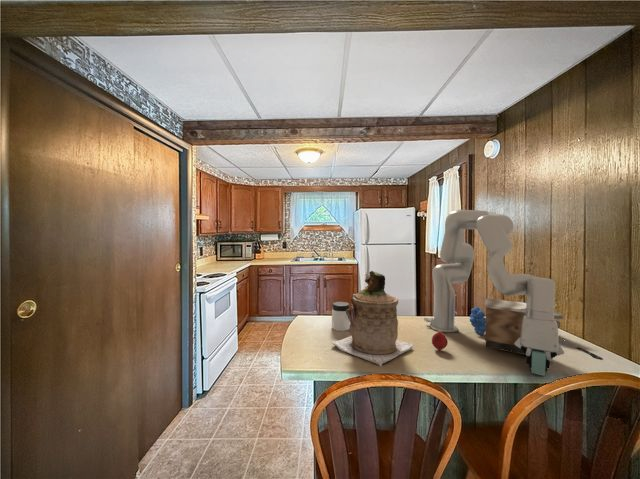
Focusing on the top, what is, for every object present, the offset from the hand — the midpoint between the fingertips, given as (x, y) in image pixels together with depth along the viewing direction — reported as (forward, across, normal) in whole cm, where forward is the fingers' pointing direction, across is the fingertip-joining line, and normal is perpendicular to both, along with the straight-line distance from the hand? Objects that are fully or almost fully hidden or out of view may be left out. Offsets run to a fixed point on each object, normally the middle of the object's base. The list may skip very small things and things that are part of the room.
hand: (537, 367), depth 99 cm
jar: (+2, -76, +2) cm, 76 cm away
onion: (+2, -31, +2) cm, 32 cm away
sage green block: (+1, 0, +6) cm, 6 cm away
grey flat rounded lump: (+2, +3, +13) cm, 14 cm away
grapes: (+2, -20, +33) cm, 39 cm away
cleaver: (+3, +12, +39) cm, 41 cm away
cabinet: (+2, -8, +16) cm, 17 cm away
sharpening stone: (+2, +2, +53) cm, 53 cm away
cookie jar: (+2, -55, -11) cm, 56 cm away
